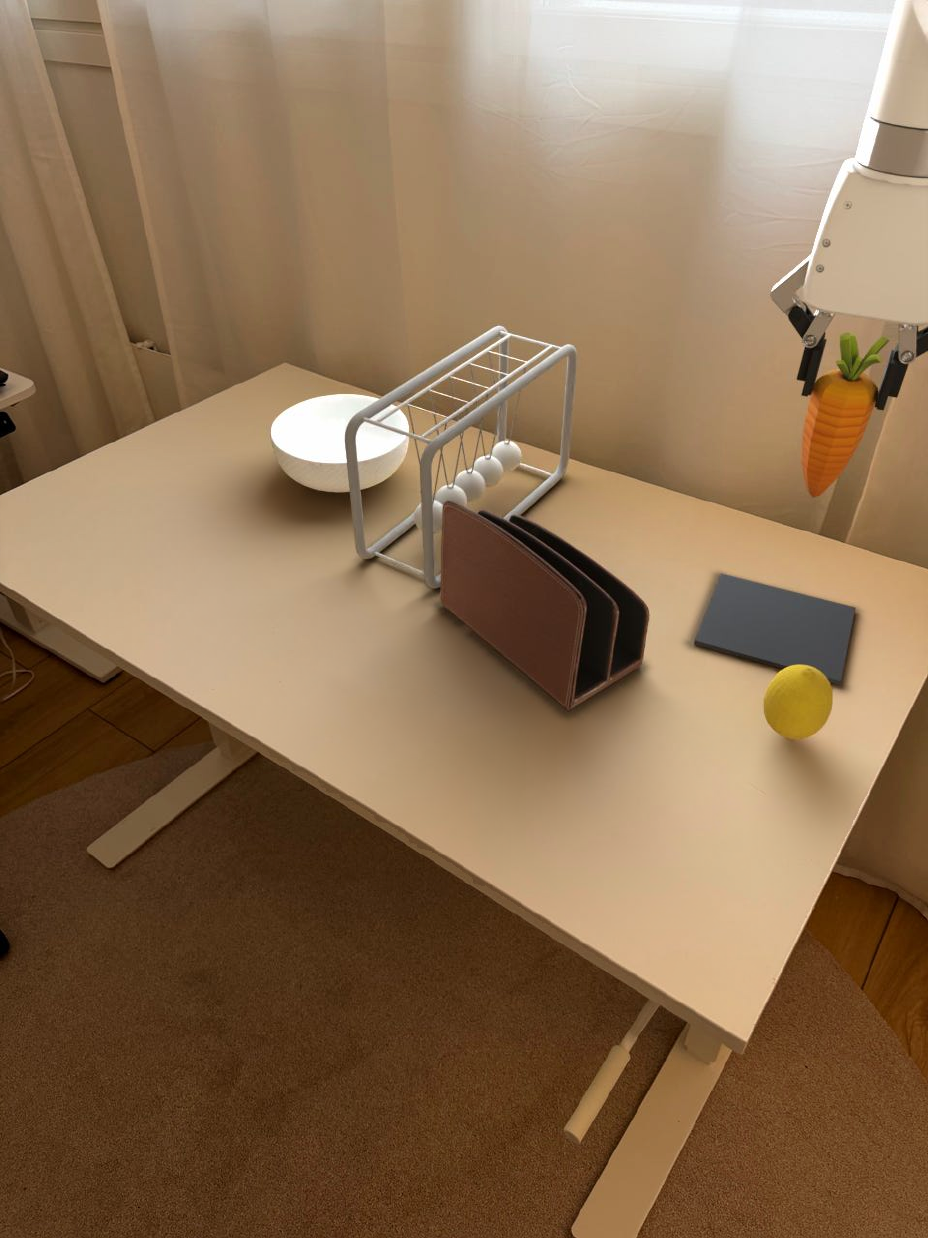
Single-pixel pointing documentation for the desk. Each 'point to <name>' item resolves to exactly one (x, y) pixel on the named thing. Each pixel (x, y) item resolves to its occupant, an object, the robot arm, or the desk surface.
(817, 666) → the mat
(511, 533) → the letter holder
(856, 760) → the desk surface
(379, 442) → the cereal bowl
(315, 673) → the desk surface
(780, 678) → the lemon
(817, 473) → the carrot
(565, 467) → the newton's cradle
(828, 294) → the robot arm
